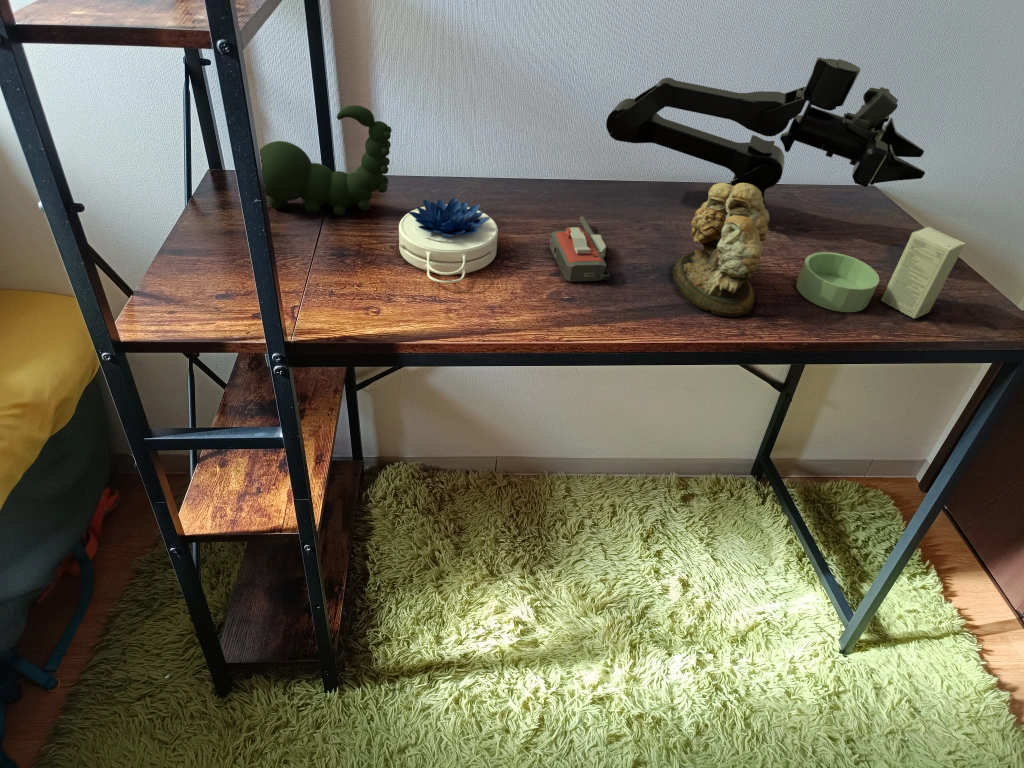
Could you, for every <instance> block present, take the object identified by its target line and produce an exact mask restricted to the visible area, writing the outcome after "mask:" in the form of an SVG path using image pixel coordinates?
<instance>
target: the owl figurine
mask: <svg viewBox="0 0 1024 768" xmlns="http://www.w3.org/2000/svg"><path fill="white" fill-rule="evenodd" d="M707 192H708V195H707V201H704V202H702V204H701V205H700V207H699V208H698V209H697V210H696V211H695V212H694V216H693V219H692V220H691V223H690V225H691V237H692V239H693V242H695V243H696V244H701V245H702V246H703V249H695V250H694V251H692V252H689V253H687V254H685V255H683V256H682V257H681V256H680V258H677V260H676V261H675V263H674V265H673V268H672V280H673V283H674V285H675V287H676V288H677V290H678V291H679V293H680V294H681V295H682V296H683V297H684V299H686V300H687V301H688V302H689V303H691V304H692V305H693V306H695V307H696V308H697V309H700V310H702V311H704V312H710V313H711V314H712V315H714V316H718V317H724V318H725V317H728V318H739V317H742V316H744V315H747V314H748V313H750V312H751V310H752V309H753V306H754V303H755V292H754V291H755V290H754V289H753V286H752V284H751V283H750V281H749V279H751V278H752V277H753V275H754V273H755V272H757V269H758V268H759V265H760V261H761V257H762V254H763V250H764V249H763V247H764V245H763V242H765V241H766V239H767V233H768V231H769V226H768V224H769V223H770V214H769V211H768V210H767V209H766V207H765V206H764V203H763V197H762V193H761V191H760V190H759V189H758V188H757V187H755V186H754V185H752V184H748V183H739V184H736V185H735V186H732V185H730V183H727V182H717V183H715V184H713V185H712V186H711V187H710V188H709V189H708V191H707Z"/></svg>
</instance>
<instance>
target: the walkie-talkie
mask: <svg viewBox="0 0 1024 768" xmlns="http://www.w3.org/2000/svg"><path fill="white" fill-rule="evenodd" d="M578 219H579V222H580V224H581V225H582V227H583V229H582V228H581V227H579V226H578V227H577V226H576V227H575V226H574V227H573V226H572V227H566V228H565V230H555V231H552V232H551V234H550V239H549V248H550V251H551V253H552V255H553V257H554V259H555V261H556V263H557V266H558V268H559V270H560V272H561V274H562V276H563V278H564V280H565V281H567V282H570V283H575V282H579V283H580V282H600V281H603V280H604V281H607V280H609V279H610V275H611V273H610V272H609V270H608V268H607V266H608V265H607V262H606V261H605V260H604V258H605V256H606V253H607V252H606V251H607V245H606V242H605V241H604V239H603V236H602V235H601V234H596V233H595V232H594V231H593V229H592V228H591V226H590V224H589V222H588V220H587V219H586V217H585V216H584V215H581V216H580V217H579V218H578Z"/></svg>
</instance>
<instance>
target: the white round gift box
mask: <svg viewBox="0 0 1024 768" xmlns="http://www.w3.org/2000/svg"><path fill="white" fill-rule="evenodd" d="M422 202H423V206H421V207H420V206H416V208H415V209H413V210H411V211H408V212H407V213H406V214H404V216H403V217H402V218H401V219H400V221H399V224H398V243H399V244H398V247H399V248H398V249H399V253H400V254H401V256H402V258H403V259H404V260H405V261H406V262H408V263H409V264H410V265H412V266H413V267H415V268H417V269H419V270H423V271H425V272H426V276H427V278H428V279H429V280H430V281H432V282H435V283H440V284H454V283H455V284H456V283H459V282H462V280H463V279H464V278H465V277H466V276H465V275H466V274H470V273H473V272H477V271H479V270H482V269H483V268H485V267H487V266H488V265H490V264H491V263H492V262H493V261H494V260H495V257H496V255H497V251H498V250H497V248H498V237H499V236H498V235H499V228H498V225H497V223H496V222H495V221H494V219H493V218H491V217H490V216H489V215H487V214H486V213H484V211H481V210H479V209H480V206H481V204H479V203H478V204H475V205H473V206H471V207H470V206H469V204H468V202H467V201H463V202H462V203H461V201H460V200H458V199H457V197H452V198H451V199H450V200H449V202H448V203H445V202H444V201H443V200H442V199H438V200H437V203H436V202H434V201H431V202H430V201H429V200H427V199H423V200H422ZM430 273H433V274H437V275H441V276H452V275H461V277H460V278H457V279H453V280H452V279H451V280H441V279H437V278H434V277H432V276H431V274H430Z"/></svg>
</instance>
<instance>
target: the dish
mask: <svg viewBox="0 0 1024 768" xmlns="http://www.w3.org/2000/svg"><path fill="white" fill-rule="evenodd" d="M803 261H804V262H803V264H802V267H801V269H800V271H799V274H798V277H797V279H796V283H795V285H796V289H797V291H798V292H799V294H800V295H801V296H802V297H803V298H804V299H806V300H807V301H809V302H810V303H812V304H814V305H816V306H819V307H821V308H824V309H826V310H830V311H834V312H840V313H856V312H860V311H863V310H865V309H866V308H867V307H868V306H869V304H870V302H871V300H872V298H873V295H874V293H875V292H876V289H877V288H878V285H879V284H880V276H879V274H878V273H877V271H876V270H875V269H874V268H873V267H872V266H870V265H869V264H867V263H866V262H864V261H862V260H860V259H858V258H856V257H852V256H851V255H847V254H843V253H838V252H831V251H829V252H828V251H820V252H814V253H812V254H809V255H808V256H807V257H806V258H805V259H804V260H803Z"/></svg>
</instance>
